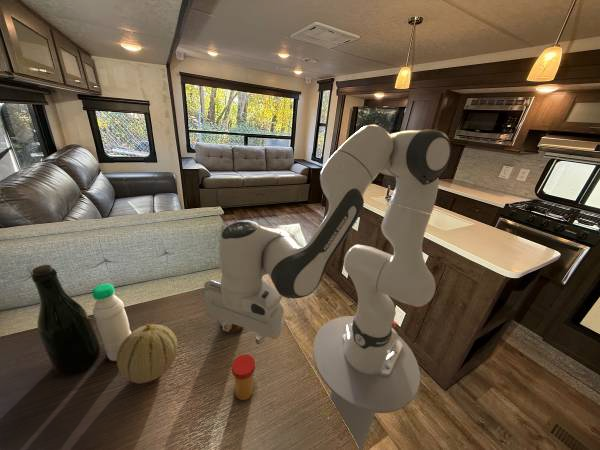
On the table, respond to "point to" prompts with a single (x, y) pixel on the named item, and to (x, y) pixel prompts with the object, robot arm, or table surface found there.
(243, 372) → the lid
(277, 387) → the table surface
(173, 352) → the cantaloupe
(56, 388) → the table surface
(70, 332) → the dark green glass bottle
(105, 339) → the white milk bottle
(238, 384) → the orange cylinder
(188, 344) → the table surface
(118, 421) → the table surface
